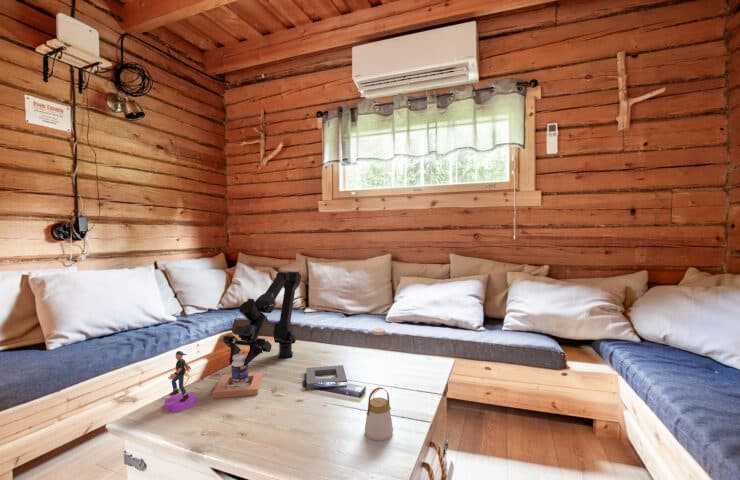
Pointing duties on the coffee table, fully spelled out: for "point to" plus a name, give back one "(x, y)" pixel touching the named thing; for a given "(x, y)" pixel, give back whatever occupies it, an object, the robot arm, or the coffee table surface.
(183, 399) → the figurine
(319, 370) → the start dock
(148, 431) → the coffee table surface
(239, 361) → the pill bottle
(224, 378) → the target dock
